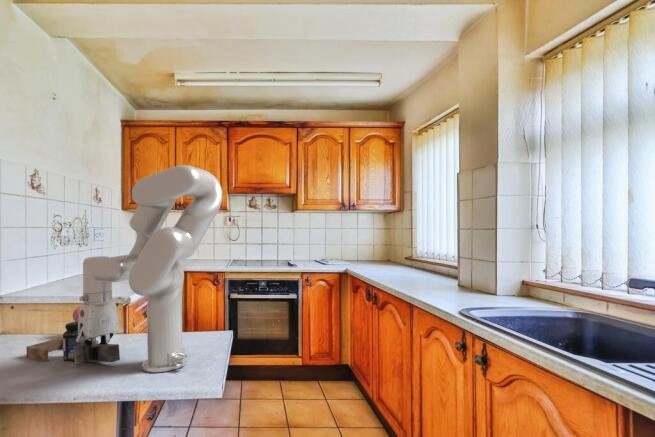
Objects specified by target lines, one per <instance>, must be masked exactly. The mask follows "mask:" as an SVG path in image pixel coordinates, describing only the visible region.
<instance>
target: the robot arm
mask: <svg viewBox="0 0 655 437" xmlns="http://www.w3.org/2000/svg"><path fill="white" fill-rule="evenodd" d="M131 197H132V199H133V201H134V202H135V204H137V205H138V206H137V207H136V209H135V211H134V213H133V214H132V216H131V218H130V220H129V222H128V223H129V227H130V228H131V229H132V230H133V231H134V232H135V234H136V239H135V240H136V241H135V242H134V245H133V247H132V249H131V250H130V251H129V253H128V254H124V255H117V256H111V257H109V256H106V255H105V256H102V255H101V256H88V257H86V258H84V260H83V261H82V291H83V293H82V296H79V301H80V302H82V303H81V305H80V306H81V308H80V313H79V321H78V337H77V339H76V342H79V343H83V344H85V345H86V346H87V347H88V357H89V359H90V360H94V361H96V360H97V359H98V348H97V347H96V340H97V338H100V339H99V340H100V342H98V344H110V342H111V339H112V338H113V336H114V335H116V334H117V333H118V332H119V315H118V307H117V304H116V300H115V299H113V283H117V282H118V283H120V282H123V281H124V282H125V281H127V280H128V285H129V287H130V290H131V291H133V293H134V294H136V295H139V296H141V297H142V296H143V297H146V296H147V304H146V330H147V332H146V334H147V336H146V337H147V338H146V340H147V344H146V345H147V359H146V360H144V361H143V362H142V364H141V369H142V370H143V371H145V372H147V373H162V372H163V373H164V372H170V371H173V370H177V369H180V368H183V367H184V366H185V365H187V364H188V362H189V360H190V359H191V354H186V352H185V350H186V349H185V348H184V347H183V318H182V317H183V316H182V315H183V314H182V313H183V312H182V310H183V308H182V306H183V304H182V303H183V301H182V300H183V298H182V297H183V287H184V281H185V272H184V268H183V265H182V264H181V263H180V262H179V261H180V260H187V259H188V258H190V257H192V256H193V255H194V253H195V252H196V250H197V249H198V247H199V245H200V243H201V242H202V240H203V238H204V236H205V235H206V233H207V231H208V229H209V227H210V226H211V224H212V222H213V220H214V219H215V217H216V216H217V215H218V212H219V210H220V208H221V205H222V202H223V189H222V186H221V184H220V182H219V181H218V178H216V176H214V175H213V174H212V173H211V172H209V171H207V170H205V169H202V168H199V167H195V166H192V165H188V164H180V165H176V166H173V167H169V168H167V169H163V170H160V171H158V172H155V173H152V174H150V175H146V176H144V177H143V178H142V177H141V178H140V179H138V180H137V182H136V183H135V184H134V185H133V187H132V190H131ZM181 197H190V198H191V197H192V198H193V199H192V201H191V202H190V203H189V204H188V205H187V206H186V208H185V209H184V210H183V211H182V212H181V215H180V217H179V218H178V220H177V221H176V223H175V224H174V225H173V226H172V227H164V228H163V225H164V223H165V221H166V219H167V218H168V216H169V214H170V212H171V211H172V209H173V207H174V206H175V204H176V202H177V199H178V198H181ZM84 337H86V339H84ZM94 361H93V362H94Z"/></svg>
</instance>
